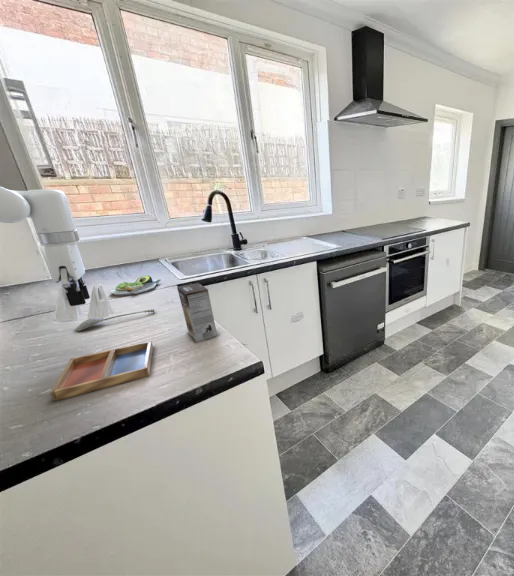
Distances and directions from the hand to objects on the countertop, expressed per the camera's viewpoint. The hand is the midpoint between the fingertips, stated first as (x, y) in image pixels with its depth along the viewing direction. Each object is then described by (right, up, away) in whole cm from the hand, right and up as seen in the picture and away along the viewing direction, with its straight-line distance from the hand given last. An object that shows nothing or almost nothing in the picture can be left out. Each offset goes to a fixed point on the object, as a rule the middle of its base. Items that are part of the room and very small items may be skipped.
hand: (80, 301), depth 88 cm
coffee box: (+28, -11, +13) cm, 32 cm away
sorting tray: (+14, -18, -6) cm, 24 cm away
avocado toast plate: (-28, +3, +55) cm, 61 cm away
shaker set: (0, -6, +2) cm, 6 cm away
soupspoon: (-9, -8, +23) cm, 25 cm away
